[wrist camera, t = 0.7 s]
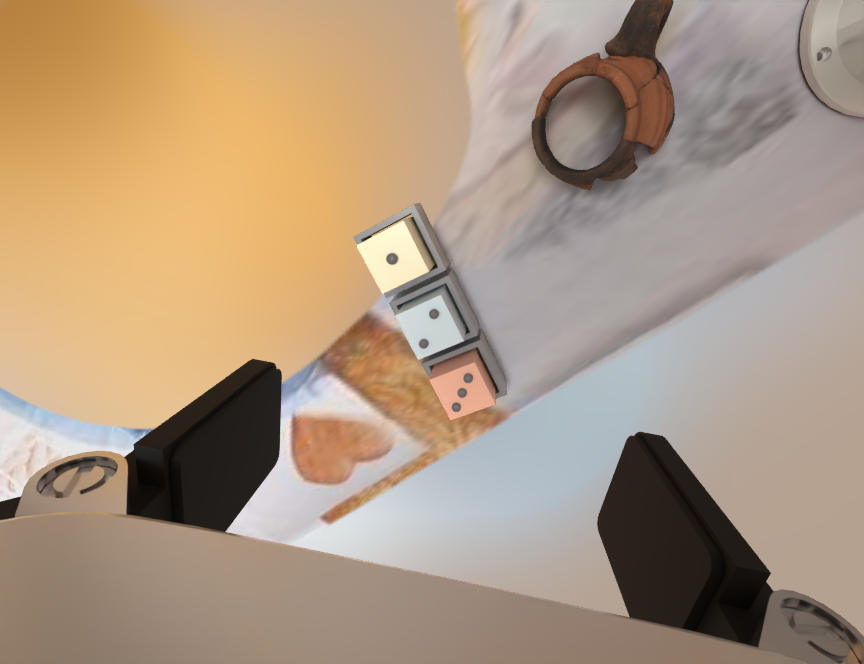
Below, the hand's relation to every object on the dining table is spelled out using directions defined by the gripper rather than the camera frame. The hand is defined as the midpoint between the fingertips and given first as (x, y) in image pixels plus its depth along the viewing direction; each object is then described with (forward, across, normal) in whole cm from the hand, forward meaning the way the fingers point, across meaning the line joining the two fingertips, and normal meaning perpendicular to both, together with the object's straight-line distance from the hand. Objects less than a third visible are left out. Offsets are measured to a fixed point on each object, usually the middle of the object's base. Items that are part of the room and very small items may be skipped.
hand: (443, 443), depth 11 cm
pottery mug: (+27, -8, -14) cm, 32 cm away
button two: (+26, +2, +5) cm, 27 cm away
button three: (+27, -2, +10) cm, 28 cm away
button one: (+26, +6, -1) cm, 27 cm away
